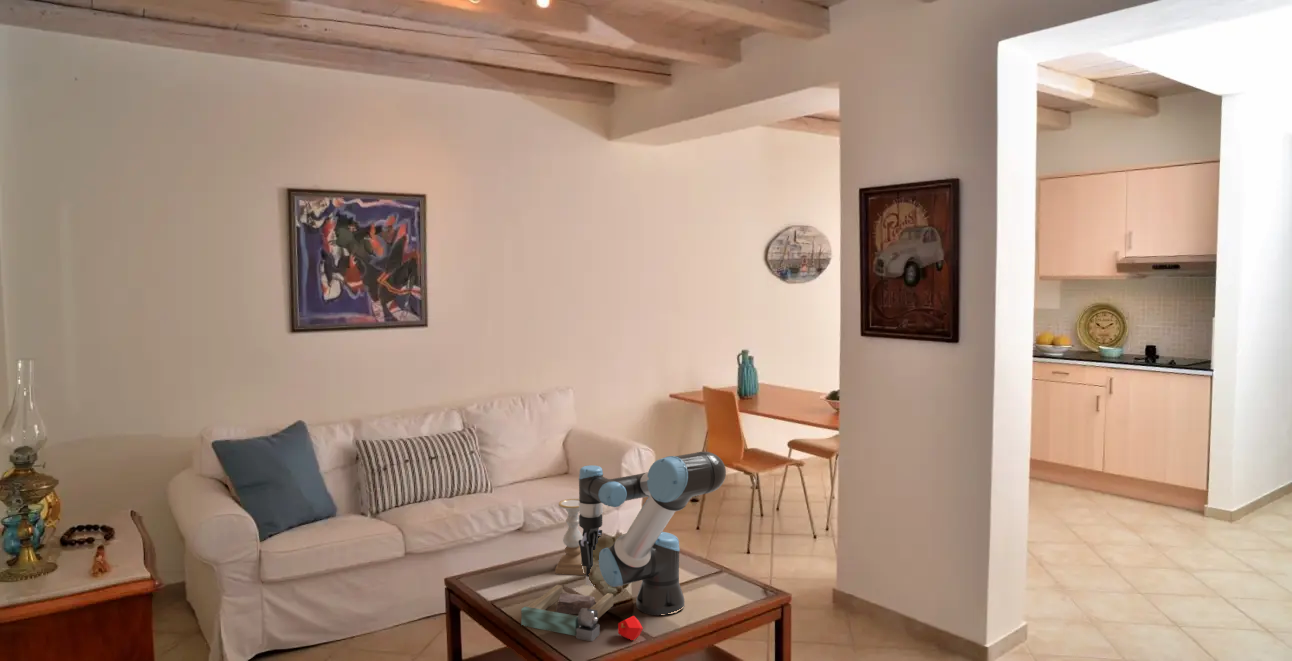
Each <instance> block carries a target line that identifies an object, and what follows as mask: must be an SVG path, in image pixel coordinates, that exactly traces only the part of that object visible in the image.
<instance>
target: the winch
mask: <svg viewBox="0 0 1292 661" xmlns="http://www.w3.org/2000/svg"><path fill="white" fill-rule="evenodd" d="M577 616H578V624H579V626H578V627H577V628H576V636H575V637H576V639H577V640H582V641H587V642H593V641H594V640H595V639H596V638H597V637H598V636H600V634H601V633H600V632H601V630H600V629H601V628H600V626H601V625H600V624H599V623H598V621H599V618H598V612H597V610H593V609H587V608H582V609H581V610H580V612H579V614H577Z"/></svg>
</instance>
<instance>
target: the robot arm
mask: <svg viewBox="0 0 1292 661" xmlns="http://www.w3.org/2000/svg"><path fill="white" fill-rule="evenodd" d="M578 476H579V478H578V499H579V512H578V517H579V524H578V527H580V528H581V529H582V533H581V534H582V536H583V538H582V540H579V545H580V551H581V553H580V554H581V559H582V566H585V567H586V575H585V586H588V587H589V586H590V587H594V586H593V584H592V583H591V581H590V580H589V575H588V574H589V573H590V569H591V567H592V566H593V550H595V549H596V544H597V543H598V538H599V537H601V538H602V536H603V530H602V529H600V528H602V526H603V511H604V510H603V509H604V508H603V506H604V505H605V506H607V507H612V508H619V507H620V506H621V505H623V504H624V503H625V502H628V501H632V500H637V499H642V498H643V499H644V498H647V499H646V500H645V502H644V503H643V505H642V507H641V509H640V510H639V512H638V513H637V514H636V517H635V519H634V520H633V522H632V523H631V525H630V526H629V528H628V530H627V532H626V533H623V534H621V535H618V537H617V538H616V539H615V541H614V543H613V545H611V546H609V547H607V546H606V547H604V548H602V549H600V552H599V560H598V562H599V563H598V566H599V570H600V574H601V575H602V576H601V577H602V578H603V580H604V582H605V583H606V584H607V585H609V586H610V587H614V588H616V587H622V586H624V585H629V584H632V583H637V582H639V581H641V584H640V587H639V589H638V593H637V596H636V601H635V602H636V603H635V604H636V608H637V610H638V611H639V612H642V613H644V614H647V615H651V616H659V615H661V614H668V613H671V612H674V611H677V610H679V609H681V608H682V607H683V606H684V607H685V597H684V594H683V591H682V587H681V585H680V551H681V549H680V539H679V538H678V537H677V536H676V535H675V534H673V533H670V532H665V531H664V530H665V528H666V526H667V525H668V524H669V522H670V520H671V519H672V517H674V514H675V513H676V512H679V511H681V510H683V509H685V508H686V506H687V504H688V503H689V502H690V500H691V499H692V498H694V497H696V496H701V495H706V494H710V493H713V492H715V491H717V490H718V489H720V488H721V487H722V485H723V484H724V482H725V480H726V476H727V470H726V465H725V463H724V461H723V460H722V458H720V456H718V455H717V454H716V453H713V452H710V451H698V452H697V451H696V452H692V453H687V454H680V455H670V456H665V457H662V458H659V459H657V460H655V461H654V462H653V463H652V464H651V465H650V467H649V468H648V472H643V473H638V474H633V475H627V476H622V477H621V476H620V477H614V478H607V477H605V476H604V473H603V468H602V467H601V466H599V465H593V464H591V465H585V466H581V467H580V469H579V475H578ZM598 535H601V536H598Z"/></svg>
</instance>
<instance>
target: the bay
mask: <svg viewBox="0 0 1292 661" xmlns="http://www.w3.org/2000/svg"><path fill="white" fill-rule="evenodd" d="M563 588H564V587H563V585H560V584H556V585H555V586H553V587H552V588H551V589H550V590H548V591H546V593H544V594H543V595H541V596H540V597H539V598H538V599H536V600H535V601H533V602H531V603H530V604H529V605H528V606H524V607H522V608H521V609H520V610H521V611H520V613H521V626H522V625H524V626H523V627H527V626H528V627H529V628H533V629H534V628H535V629H539V630H545V631H547V632H548V631H550V632H555V633H559V634H564V635H565V634H566V635H569V636H575V637H576V628H577V627H578V626H579V624H578V615H575V614H563V613H558V612H556V611H551V610H547V609H548V608H549V607H551V606H552V605H553V604H555V603H556V602H558V600H559V597H560V593H564V590H563ZM613 606H614V594H613V593H606V594H605V595H603V596H602V597H601V598H600V599H599V600H597V602H595V605H593V606H592V607H591V608H590V609H593V610H597V612H598V619H600V618H601V617H602V616H603V615H604V614H605V613H606V612H607V611H608V610H610V609H611V608H612V607H613Z"/></svg>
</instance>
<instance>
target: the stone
mask: <svg viewBox="0 0 1292 661" xmlns="http://www.w3.org/2000/svg"><path fill="white" fill-rule="evenodd" d="M595 604H596V599H595V597H594V596H590V595H584V594H577V593H565V592H563V593H560V597H559V600H557V605H556V608H555V609H556V611H555V612H558V613H563V614H569V615H579V612H580V610H581V609H582V608H587V609H590V608H591V607H592V606H593V605H595Z"/></svg>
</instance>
